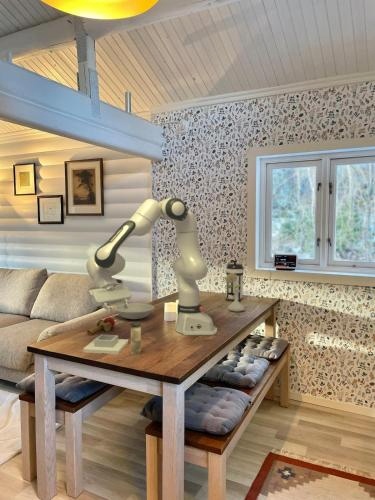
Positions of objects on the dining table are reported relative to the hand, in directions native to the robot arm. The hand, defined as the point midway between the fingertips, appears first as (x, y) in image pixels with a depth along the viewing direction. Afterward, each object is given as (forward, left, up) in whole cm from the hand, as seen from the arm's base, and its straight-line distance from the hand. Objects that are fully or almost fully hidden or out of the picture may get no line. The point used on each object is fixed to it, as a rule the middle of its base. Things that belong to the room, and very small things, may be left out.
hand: (118, 309), depth 172 cm
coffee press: (-54, -113, -17) cm, 126 cm away
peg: (-10, +7, -17) cm, 21 cm away
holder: (+5, +2, -17) cm, 18 cm away
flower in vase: (-54, -80, -17) cm, 98 cm away
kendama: (+16, -23, -18) cm, 33 cm away
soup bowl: (+6, -51, -17) cm, 54 cm away
